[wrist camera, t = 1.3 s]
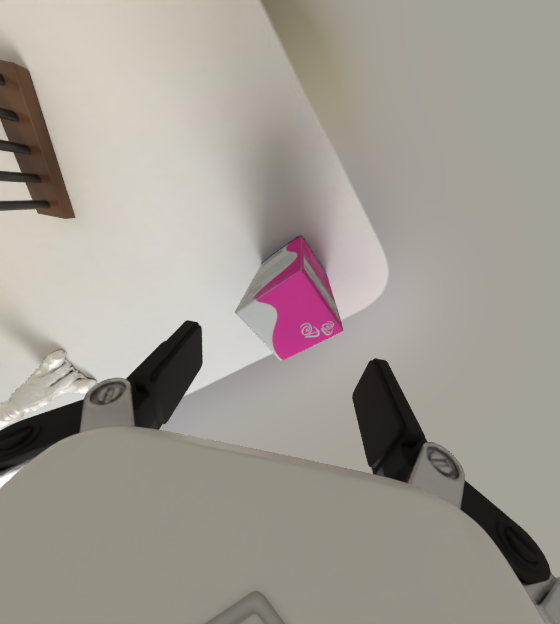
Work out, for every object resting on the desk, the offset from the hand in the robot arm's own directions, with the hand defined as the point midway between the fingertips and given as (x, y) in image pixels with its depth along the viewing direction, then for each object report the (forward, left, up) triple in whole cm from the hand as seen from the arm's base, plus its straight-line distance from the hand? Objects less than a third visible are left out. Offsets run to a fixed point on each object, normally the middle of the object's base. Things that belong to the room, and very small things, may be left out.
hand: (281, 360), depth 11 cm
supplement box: (0, 0, -15) cm, 15 cm away
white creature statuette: (+28, -38, -15) cm, 49 cm away
